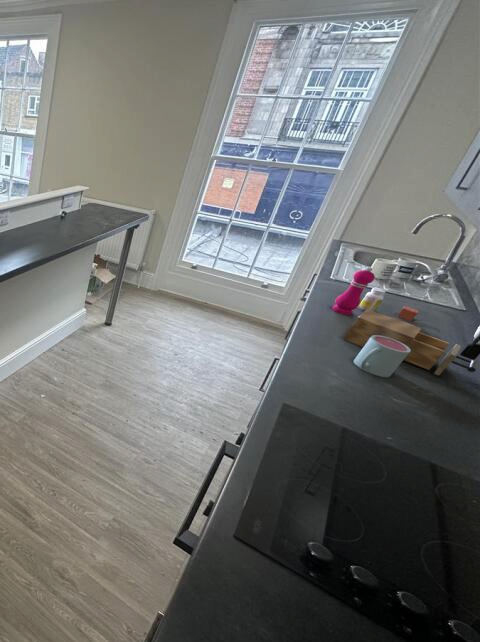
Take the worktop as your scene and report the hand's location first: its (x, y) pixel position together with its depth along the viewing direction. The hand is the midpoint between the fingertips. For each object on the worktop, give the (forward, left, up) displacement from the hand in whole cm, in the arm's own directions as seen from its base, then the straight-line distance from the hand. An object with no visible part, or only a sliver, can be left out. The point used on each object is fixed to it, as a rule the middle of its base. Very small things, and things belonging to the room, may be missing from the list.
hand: (467, 356), depth 125 cm
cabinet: (+17, +10, -8) cm, 21 cm away
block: (+37, -28, -8) cm, 47 cm away
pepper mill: (+41, -2, -8) cm, 42 cm away
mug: (+3, +28, -8) cm, 29 cm away
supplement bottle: (+43, -16, -8) cm, 46 cm away
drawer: (+5, +4, -7) cm, 9 cm away
